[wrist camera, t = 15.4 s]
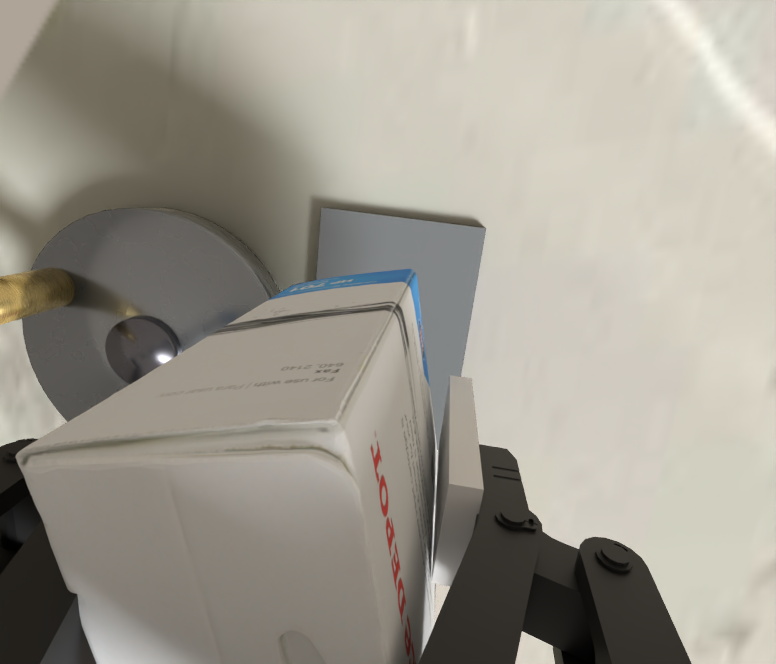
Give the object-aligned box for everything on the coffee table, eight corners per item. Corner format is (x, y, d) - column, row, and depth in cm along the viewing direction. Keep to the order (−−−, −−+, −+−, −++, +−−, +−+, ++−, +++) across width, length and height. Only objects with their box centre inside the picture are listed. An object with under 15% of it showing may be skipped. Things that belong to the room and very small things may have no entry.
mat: (308, 422, 27) (305, 427, 27) (324, 207, 24) (321, 207, 23) (447, 446, 27) (447, 451, 26) (485, 227, 23) (486, 228, 23)
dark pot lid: (17, 361, 28) (-116, 413, 22) (112, 150, 24) (-17, 134, 17) (217, 493, 29) (149, 582, 22) (342, 312, 25) (303, 355, 18)
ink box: (289, 280, 17) (-21, 437, 6) (427, 265, 17) (349, 418, 5) (327, 487, 20) (148, 871, 9) (451, 483, 19) (430, 911, 8)
